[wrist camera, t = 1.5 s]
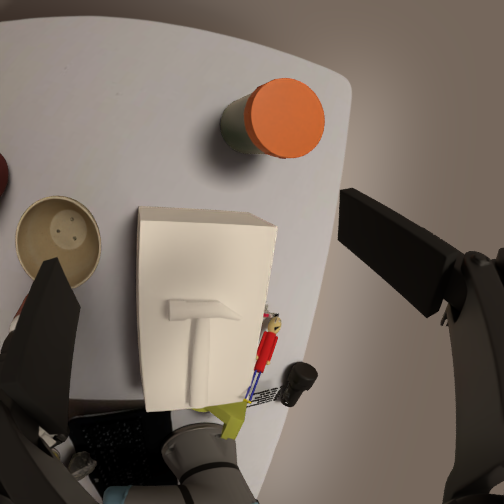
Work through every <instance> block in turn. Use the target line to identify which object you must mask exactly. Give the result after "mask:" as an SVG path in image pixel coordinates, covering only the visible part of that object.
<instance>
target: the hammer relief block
mask: <svg viewBox="0 0 504 504" xmlns="http://www.w3.org/2000/svg"><path fill="white" fill-rule="evenodd" d="M277 229H278V227H277V226H275V225H273V224H271V223H269V222H267V221H265V220H263V219H261V218H259V217H257V216H255V215H253V214H251V213H248V212H235V211H220V210H204V209H186V208H166V207H142V206H139V209H138V226H137V253H136V306H137V333H138V350H139V364H140V374H141V381H142V388H143V394H144V400H145V406H146V411H147V412H154V411H168V410H180V409H190V408H196V409H200V408H204V407H207V406H215V405H222V404H229V403H235V402H242V401H243V399H245V396H246V393H247V391H248V388H249V386H251V382H252V376H253V371H254V365H255V360H256V354H257V349H258V343H259V337H260V332H261V326H262V320H263V315H264V309H265V303H266V297H267V291H268V285H269V279H270V273H271V267H272V261H273V254H274V248H275V242H276V236H277ZM249 392H250V391H249ZM248 398H249V393H248V396H247V400H248Z"/></svg>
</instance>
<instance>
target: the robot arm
mask: <svg viewBox="0 0 504 504" xmlns="http://www.w3.org/2000/svg"><path fill="white" fill-rule="evenodd" d="M338 241H339V242H341V243H342V244H343V245H344V246H346V247H347V248H348V249H349V250H350V251H351V252H353V253H354V254H355V255H356V256H357V257H358V258H360V259H361V260H362V261H363V262H364V263H366V264H367V265H368V266H369V267H370V268H371V269H373V270H374V271H375V272H376V273H377V274H378V275H380V276H381V277H382V278H383V279H384V280H385V281H386V282H387V283H389V284H390V285H391V286H392V287H393V288H394V289H395V290H396V291H398V292H399V293H400V294H401V295H402V296H403V297H404V298H405V299H406V300H408V301H409V302H410V303H411V304H412V305H413V306H414V307H415V308H416V309H417V310H418V311H419V312H420V313H422V314H423V315H424V316H425V317H426V318H428V317H430V316H431V315H433V314H435V313H436V312H438V311H439V309H440V307H441V304H442V301H443V299H445V300H446V301H447V302H448V305H447V308H446V310H445V313H444V315H443V318H442V320H441V325H442V326H443V324H444V322H445V320H446V319H448V323H447V325H446V326H449V333H450V340H451V347H452V356H453V366H454V377H455V395H456V450H455V463H454V467H453V469H452V471H451V473H450V475H449V477H448V479H447V481H446V485H445V490H444V496H443V503H442V504H504V495H496V494H489V492H490V490H491V489H492V488H493V487H494V486H496V485H497V484H499V483H501V482H503V481H504V248H500V249H499V251H498V255H497V258H496V259H492V260H490V259H489V258H488V257H487V256H485V255H484V254H482V253H479V252H475V251H469V252H466V253H465V255H464V254H463V253H461V252H460V251H459V250H457V249H456V248H454V247H453V246H451V245H450V244H448V243H447V242H445V241H443V240H442V239H440V238H439V237H437V236H436V235H433V233H431V232H429V231H428V230H426V229H425V228H422V227H420V226H418V225H417V224H415V223H414V222H412V221H410V220H409V219H407V218H405V217H404V216H402V215H400V214H398V213H397V212H395V211H393V210H392V209H390V208H388V207H387V206H385V205H383V204H381V203H380V202H378V201H376V200H374V199H372V198H370V197H369V196H367V195H365V194H363V193H361V192H360V191H358V190H356V189H354V188H349V189H343V190H340V205H339V226H338ZM80 308H81V307H80V305H79V303H78V301H77V299H76V297H75V295H74V293H73V291H72V289H71V286H70V284H69V282H68V280H67V278H66V276H65V273H64V271H63V269H62V267H61V264H60V262H59V260H58V257H55V258H52V259H49V260H45V261H43V263H42V265H41V267H40V269H39V271H38V273H37V275H36V277H35V280H34V282H33V284H32V286H31V289H30V291H29V293H28V296H27V298H26V301H25V303H24V306H23V308H22V311H21V313H20V316H19V318H18V321H17V324H16V327H15V329H14V330H13V331H11V332H10V333H9V335H8V336H7V338H6V339H5V341H4V343H3V346H2V349H1V354H0V504H99V503H98V502H97V501H96V500H95V499H94V498H93V497H92V496H91V495H90V494H89V493H88V492H87V491H86V490H85V489H84V488H83V487H82V486H81V484H80V483H79V482H78V481H77V480H76V479H75V478H74V477H73V476H72V474H71V473H70V472H69V471H68V470H67V468H66V467H65V466H64V465H63V464H62V462H61V461H60V460H59V459H58V457H57V456H56V455H55V454H54V452H53V451H52V450H51V448H50V447H49V446H48V444H47V443H46V442H45V440H44V439H43V438H41V437H40V436H39V426H40V427H41V428H42V429H43V430H45V431H46V432H47V433H48V434H49V435H55V434H68V404H69V389H70V378H71V368H72V359H73V351H74V344H75V337H76V331H77V325H78V319H79V313H80ZM222 429H223V426H222V425H219V424H214V423H199V424H193V425H189V426H185V427H182V428H180V429H178V430H176V431H174V432H172V433H171V434H169V435H168V436H167V437H166V438H165V439H164V441H163V442H162V445H161V452H162V456H163V458H164V461H165V462H166V464H167V465H168V466H169V468H170V469H171V470H172V472H173V473H174V474H175V476H176V477H177V478H178V480H179V482H180V485H168V486H132V485H129V486H111V487H108V488H107V489H106V490H105V492H104V496H103V504H259V502H258V500H256V499H255V498H254V496H253V494H252V493H251V491H250V489H249V487H248V485H247V483H246V481H245V479H244V478H243V476H242V474H241V472H240V470H239V468H238V466H237V455H236V443H235V440H234V439H230V438H228V439H227V440H225V439H222V438H221V433H222Z"/></svg>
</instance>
